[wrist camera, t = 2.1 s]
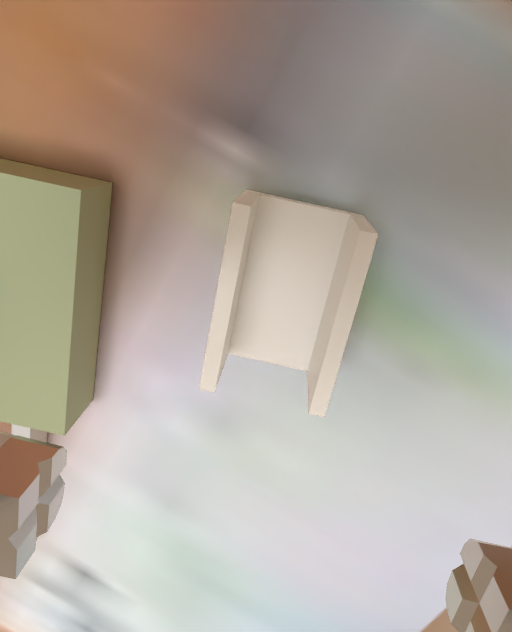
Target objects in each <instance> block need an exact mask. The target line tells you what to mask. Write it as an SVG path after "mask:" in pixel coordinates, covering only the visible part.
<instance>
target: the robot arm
mask: <svg viewBox="0 0 512 632" xmlns="http://www.w3.org/2000/svg"><path fill="white" fill-rule="evenodd" d="M66 457H67V450H66V449H65V448H64V447H62V446H58V445H54V444H50V443H46V442H42V441H38V440H34V439H30V438H26V437H22V436H18V435H16V436H15V435H13V434H9V433H5V432H1V431H0V576H3V577H8V578H13V579H16V578H17V576H18V575H19V573H20V572H21V570H22V569H23V567H24V566H25V564H26V563H27V561H28V560H29V558H30V557H31V555H32V554H33V552H34V551H35V545H36V537H38V536H40V535H41V534H43V533H45V532H47V531H48V529H49V528H50V526H51V525H52V523H53V522H54V520H55V518H56V515H57V513H58V511H59V508H60V506H61V502H62V498H63V494H64V485H65V483H64V481H63V479H62V478H61V476H60V475H59V474H60V472H61V471H62V470H63V468H64V467H65V466H66ZM460 555H461V557H462V560H463V563H464V564H463V565H461V566H459V567H457V568H456V569H454V570H452V573H451V575H450V578H449V580H448V583H447V590H446V605H447V612H448V615H449V618H450V621H451V624H452V625H453V626H454V627H455V628H456V629H457V631H458V632H512V548H511V547H506V546H502V545H497V544H492V543H488V542H483V541H479V540H474V539H469V540H468V541H467V542H466V543H465V544H464V546H463V548H462V550H461V552H460Z"/></svg>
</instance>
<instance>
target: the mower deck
mask: <svg viewBox="0 0 512 632" xmlns="http://www.w3.org/2000/svg"><path fill="white" fill-rule="evenodd" d="M112 186H113V183H112V182H107V181H103V180H98V179H94V178H89V177H85V176H80V175H75V174H71V173H66V172H62V171H57V170H53V169H48V168H43V167H39V166H34V165H30V164H25V163H20V162H16V161H11V160H7V159H2V158H0V421H1V422H5V423H10V424H12V434H13V435H15V436H16V435H18V436H22V437H26V438H30V439H34V440H38V441H42V442H46V443H47V432H50V433H54V434H59V435H63V436H65V434H66V433H67V432H68V431H69V429H70V428H71V427H72V426H73V424H74V423H75V422H76V420H77V419H78V418H79V417H80V415H81V414H82V413H83V412H84V410H85V409H86V408H87V407H88V405H89V404H90V403H91V402H92V400H93V395H94V384H95V373H96V362H97V351H98V340H99V329H100V318H101V307H102V296H103V285H104V274H105V263H106V252H107V241H108V230H109V219H110V208H111V197H112ZM38 537H39V536H38ZM38 537H36V540H37V538H38Z"/></svg>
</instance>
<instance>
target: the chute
mask: <svg viewBox="0 0 512 632" xmlns="http://www.w3.org/2000/svg"><path fill="white" fill-rule="evenodd" d="M378 235H379V234H378V233H377V232H376V230H375V229H374V228H373V227H372V226H371V224H370V223H369V222H368V221H367V219H366V218H365V217H364V216H363V215H362V214H357V213H352V212H348V211H343V210H339V209H334V208H330V207H325V206H320V205H316V204H311V203H307V202H302V201H297V200H293V199H288V198H284V197H279V196H274V195H270V194H265V193H261V192H256V191H251V190H247V189H246V190H245V191H244V192H243V193H242V194H241V195H240V196H239V197H238V198H237V199H236V200H235V201H234V202H233V203H232V208H231V214H230V219H229V225H228V230H227V236H226V241H225V247H224V252H223V258H222V263H221V269H220V274H219V280H218V285H217V291H216V297H215V302H214V308H213V313H212V319H211V324H210V330H209V335H208V341H207V346H206V352H205V357H204V363H203V368H202V374H201V379H200V385H199V389H200V390H205V391H209V392H214V393H215V390H216V387H217V385H218V382H219V379H220V376H221V373H222V370H223V367H224V364H225V361H226V358H227V355H228V354H232V355H236V356H241V357H245V358H250V359H254V360H259V361H263V362H268V363H272V364H277V365H281V366H286V367H290V368H295V369H299V370H304V371H307V377H308V412H309V414H312V415H317V416H321V417H325V414H326V411H327V407H328V404H329V401H330V397H331V394H332V390H333V387H334V384H335V380H336V377H337V374H338V370H339V367H340V363H341V360H342V357H343V353H344V350H345V347H346V343H347V340H348V336H349V333H350V330H351V326H352V323H353V319H354V316H355V313H356V309H357V306H358V303H359V299H360V296H361V292H362V289H363V286H364V282H365V279H366V276H367V272H368V269H369V265H370V262H371V259H372V255H373V252H374V248H375V245H376V242H377V238H378Z"/></svg>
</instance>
